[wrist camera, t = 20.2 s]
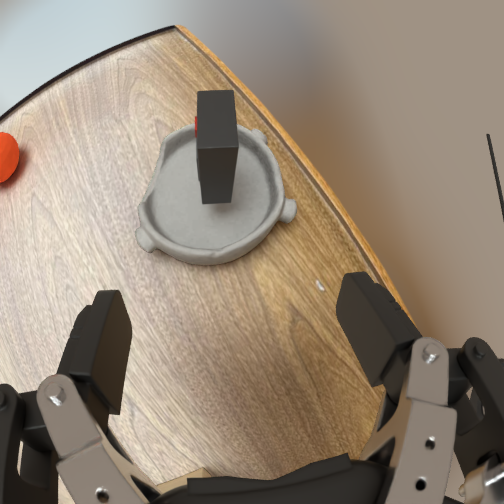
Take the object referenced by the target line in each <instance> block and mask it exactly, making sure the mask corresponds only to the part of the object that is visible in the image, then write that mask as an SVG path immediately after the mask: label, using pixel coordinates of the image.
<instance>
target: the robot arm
mask: <svg viewBox="0 0 504 504" xmlns="http://www.w3.org/2000/svg"><path fill="white" fill-rule="evenodd" d="M487 140H488V145H489V150H490V155H491V159H492V164H493V169H494V174H495V179H496V184H497V189H498V194H499V199H500V204H501V209H502V215H503V220H504V201H503V196H502V191H501V186H500V181H499V177H498V172H497V167H496V162H495V158H494V153H493V148H492V144H491V139H490V135H489V134H487ZM336 315H337V319H338V321H339V323H340V325H341V327H342V329H343V331H344V333H345V335H346V337H347V339H348V341H349V343H350V344H351V346H352V348H353V350H354V352H355V354H356V356H357V358H358V360H359V362H360V364H361V366H362V368H363V370H364V372H365V374H366V376H367V378H368V380H369V382H370V384H371V387H375V386H378V385H381V384H383V385H384V387H385V390H384V392H383V394H382V398H381V402H380V406H379V409H378V413H377V417H376V420H375V424H374V427H373V430H372V433H371V436H370V438H369V440H368V442H367V443H366V445H365V447H364V448H363V450H362V452H361V455H360V457H359V460H355V459H350V458H349V455H348V453H345V454H342V455H339V456H335V457H332V458H328V459H325V460H321V461H317V462H313V463H310V464H308V465H306V466H304V467H302V468H300V469H298V470H295V471H293V472H291V473H289V474H286V475H284V476H282V477H280V478H277V479H274V480H258V479H247V478H238V477H230V476H223V477H203V478H187V484H186V485H182V486H179V487H176V488H173V489H171V490H169V491H167V492H165V493H162V492H161V491H160V490H159V488H158V487H157V486H156V485H155V484H154V483H153V482H152V481H151V479H150V478H149V477H148V476H147V475H146V474H145V473H144V472H143V471H142V470H141V469H140V468H139V467H138V466H137V464H136V463H135V462H134V460H133V459H132V458H131V456H130V455H129V454H128V452H127V451H126V449H125V448H124V447H123V445H122V444H121V442H120V441H119V439H118V438H117V436H116V435H115V433H114V432H113V430H112V429H111V427H110V426H109V424H108V418H109V414H114V415H120V410H121V402H122V394H123V387H124V380H125V374H126V368H127V362H128V356H129V351H130V345H131V340H132V325H131V321H130V318H129V315H128V313H127V310H126V307H125V304H124V301H123V298H122V295H121V293H120V291H119V290H101V291H98V292H97V294H96V296H95V299H94V301H93V304H92V305H87V306H86V307H85V308H84V309H83V310H82V311H81V312H80V313H79V314H78V316H77V318H76V321H75V323H74V326H73V329H72V331H71V333H70V338H69V339H68V341H67V344H66V347H65V350H64V352H63V355H62V358H61V361H60V364H59V367H58V370H57V373H56V374H55V375H51V376H49V377H47V378H46V379H45V380H44V381H43V382H42V383H41V384H40V386H39V388H38V390H36V391H31V392H25V393H19V394H18V392H17V391H16V390H15V389H14V388H13V387H12V386H11V385H9V384H0V504H58V474H59V475H60V477H61V479H62V481H63V483H64V485H65V486H66V488H67V490H68V492H69V494H70V495H71V497H72V499H73V500H74V502H75V504H504V362H500V361H499V359H498V358H497V356H496V355H495V354H494V352H493V351H492V349H491V348H490V346H489V345H488V344H487V343H486V342H485V341H484V340H482V339H479V338H476V337H472V338H469V339H468V340H467V341H466V342H465V344H464V345H463V347H462V348H453V349H446V348H445V347H444V345H443V344H442V343H441V342H439V341H438V340H436V339H434V338H430V337H422V335H421V334H420V332H419V331H418V330H417V328H416V327H415V325H414V324H413V323H412V321H411V320H410V319H409V317H408V316H407V314H406V313H405V312H404V310H401V306H400V305H399V304H398V303H397V302H396V301H395V299H394V297H393V296H392V295H391V293H390V292H389V291H388V290H387V289H385V288H384V287H382V286H381V285H380V284H378V283H374V281H373V280H372V279H371V277H370V276H369V275H368V274H367V273H366V272H364V271H363V272H354V273H346V274H345V275H344V277H343V280H342V284H341V288H340V292H339V296H338V300H337V304H336ZM471 387H473V388H474V390H475V392H476V394H477V396H478V397H479V399H480V401H481V410H482V414H483V416H484V418H483V419H482V420H480V419H479V417H478V415H477V413H476V411H475V409H474V407H473V406H472V404H471V402H470V400H469V398H468V396H467V394H466V393H467V391H468V390H469V389H470V388H471ZM20 440H21V441H22V442H23V450H22V458H21V468H20V476H19V474H18V470H17V463H18V454H19V447H20ZM453 449H454V452H455V454H456V457H457V459H458V462H459V464H460V467H461V470H462V472H463V475H464V478H465V482H464V484H462V485H461V486H460V488H459V495H460V496H462V497H465V500H464V503H462V502H459V501H457V500H454V499H452V498H450V497H447V496H445V491H446V487H447V482H448V477H449V473H450V467H451V461H452V455H453Z"/></svg>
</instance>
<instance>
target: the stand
mask: <svg viewBox="0 0 504 504" xmlns="http://www.w3.org/2000/svg"><path fill="white" fill-rule="evenodd" d="M203 477H211V475H210V474H209V473H208V472H207V471H206V470H205V469H204V468H201V469H199V470H196V471H194V472H192V473H189V474H187V475H184V476H182V477H179V478H176V479H174V480H171V481H168V482H166V483H163V484H160V485H157V487H158V488H159V490H160V491H161V492H162V493H165V492H167V491H169V490H171V489H173V488H176V487H179V486H182V485H186V484H187V478H203Z"/></svg>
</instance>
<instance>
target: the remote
mask: <svg viewBox="0 0 504 504" xmlns="http://www.w3.org/2000/svg"><path fill="white" fill-rule="evenodd" d="M195 138H196V162H197V172H198V181H200V189H201V199H202V204H219V203H231V200H232V193H233V186H234V178H235V171H236V164H237V158H238V151H239V141H238V131H237V121H236V110H235V100H234V91H233V90H211V91H198V92H197V116H195Z"/></svg>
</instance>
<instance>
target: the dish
mask: <svg viewBox="0 0 504 504" xmlns="http://www.w3.org/2000/svg"><path fill="white" fill-rule="evenodd" d="M237 131H238V141H239V151H238V158H237V164H236V171H235V178H234V186H233V193H232V200H231V203H219V204H202V199H201V189H200V181H198V172H197V162H196V138H195V123H193V124H189V125H186V126H184V127H182V128H180V129H178V130H176V131H174V132H172V133H170V134H169V135H167V136H166V137H165V138H164V140H163V142H162V144H161V147H160V154H159V158H158V160H157V164H156V167H155V170H154V173H153V176H152V179H151V181H150V183H149V185H148V188H147V190H146V193H145V195H144V197H143V199H142V202H141V203H140V204H139V206H138V216H139V220H140V227H139V228H138V229H136V231H135V236H136V240H137V243H138V245H139V246H140V247H141V248H142V249H143V250H144V251H146V252H148V253H152V252H153V251H154V250H156V249H160V250H162V251H163V252H165V253H167V254H168V255H170V256H172V257H174V258H175V259H178V260H180V261H183V262H186V263H190V264H196V265H217V264H222V263H226V262H230V261H232V260H235V259H237V258H239V257H241V256H243V255H245V254H246V253H248V252H249V251H250V250H252V249H253V248H254V247H256V246H257V245H258V244H259V243H260V242H261V241H262V240H263V239H264V238H265V237H266V236H267V235H268V233H269V232H270V231H271V229H272V228H273V226H274V225H275V223H276V222H277V221H282V222H284V223H286V224H288V223H290V222H291V221H292V220H293V219H294V217H295V216H296V213H297V206H296V201H295V200H293V199H287V198H285V191H284V187H283V182H282V177H281V172H280V168H279V165H278V162H277V160H276V158H275V156H274V154H273V153H272V151H271V150H270V148H269V147H268V146H267V143H268V142H267V138H266V136H265V135H264V134H263V133H262V132H261V131H260V130H258V129H253V130H251V131H250V130H248V129H247V128H245V127H243V126H241V125H238V124H237Z"/></svg>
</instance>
